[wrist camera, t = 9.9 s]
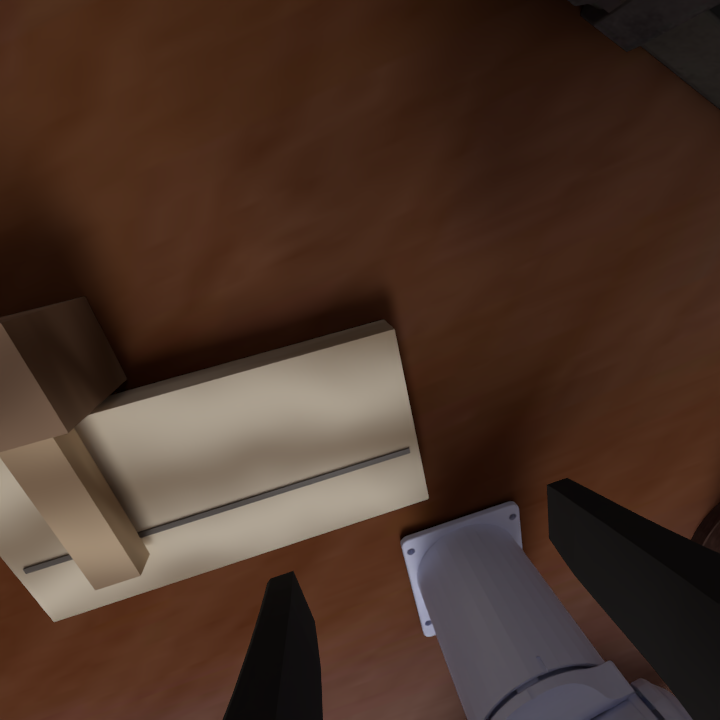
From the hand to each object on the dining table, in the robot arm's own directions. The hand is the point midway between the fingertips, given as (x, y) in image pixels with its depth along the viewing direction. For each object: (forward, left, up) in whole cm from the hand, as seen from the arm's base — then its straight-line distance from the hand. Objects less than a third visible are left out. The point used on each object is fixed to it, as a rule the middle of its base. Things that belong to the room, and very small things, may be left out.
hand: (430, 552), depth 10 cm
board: (-1, +8, -10) cm, 13 cm away
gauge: (+2, +13, -11) cm, 17 cm away
